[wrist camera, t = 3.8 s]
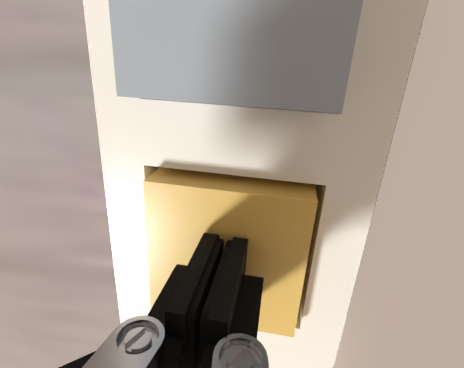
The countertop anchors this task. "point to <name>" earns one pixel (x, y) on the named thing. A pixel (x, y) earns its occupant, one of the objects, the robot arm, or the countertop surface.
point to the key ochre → (234, 232)
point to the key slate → (236, 51)
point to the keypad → (263, 166)
